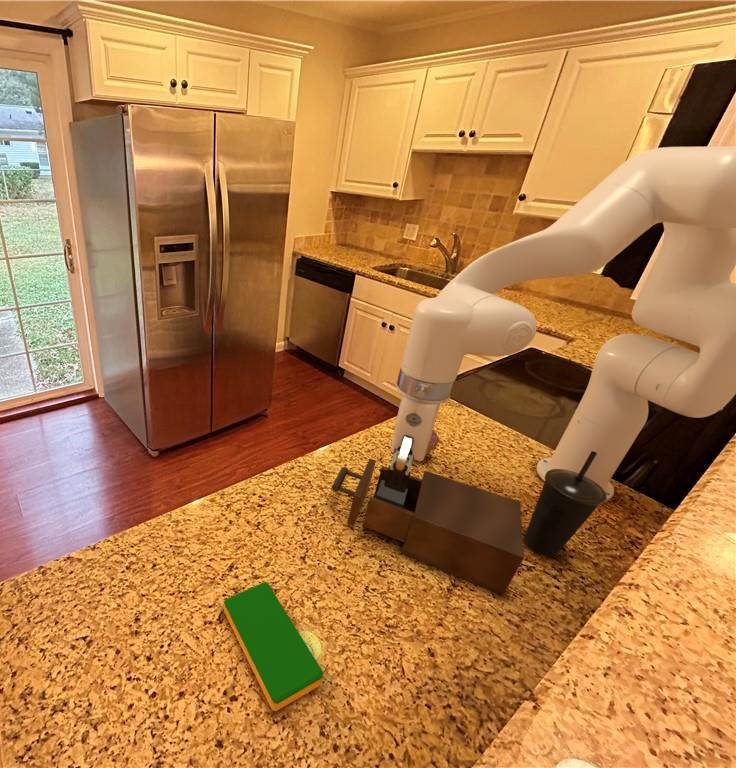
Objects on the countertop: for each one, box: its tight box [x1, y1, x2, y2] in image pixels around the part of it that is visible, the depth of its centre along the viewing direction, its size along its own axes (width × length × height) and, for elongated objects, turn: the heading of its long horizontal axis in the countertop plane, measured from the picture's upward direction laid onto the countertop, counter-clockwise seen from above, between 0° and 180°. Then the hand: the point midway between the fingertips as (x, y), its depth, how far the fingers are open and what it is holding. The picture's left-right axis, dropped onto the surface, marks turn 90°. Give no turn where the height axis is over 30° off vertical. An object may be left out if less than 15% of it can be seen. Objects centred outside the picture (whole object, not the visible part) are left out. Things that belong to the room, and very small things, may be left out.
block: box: [376, 480, 408, 508], centre depth 73 cm, size 4×4×4 cm
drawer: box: [331, 458, 422, 544], centre depth 73 cm, size 18×11×7 cm, turn 60°
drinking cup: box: [523, 451, 607, 558], centre depth 65 cm, size 8×8×20 cm
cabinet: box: [401, 470, 525, 596], centre depth 68 cm, size 15×13×9 cm
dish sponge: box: [223, 581, 324, 712], centre depth 54 cm, size 7×14×2 cm, turn 25°
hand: (399, 471), depth 69 cm, fingers open, 9 cm apart
